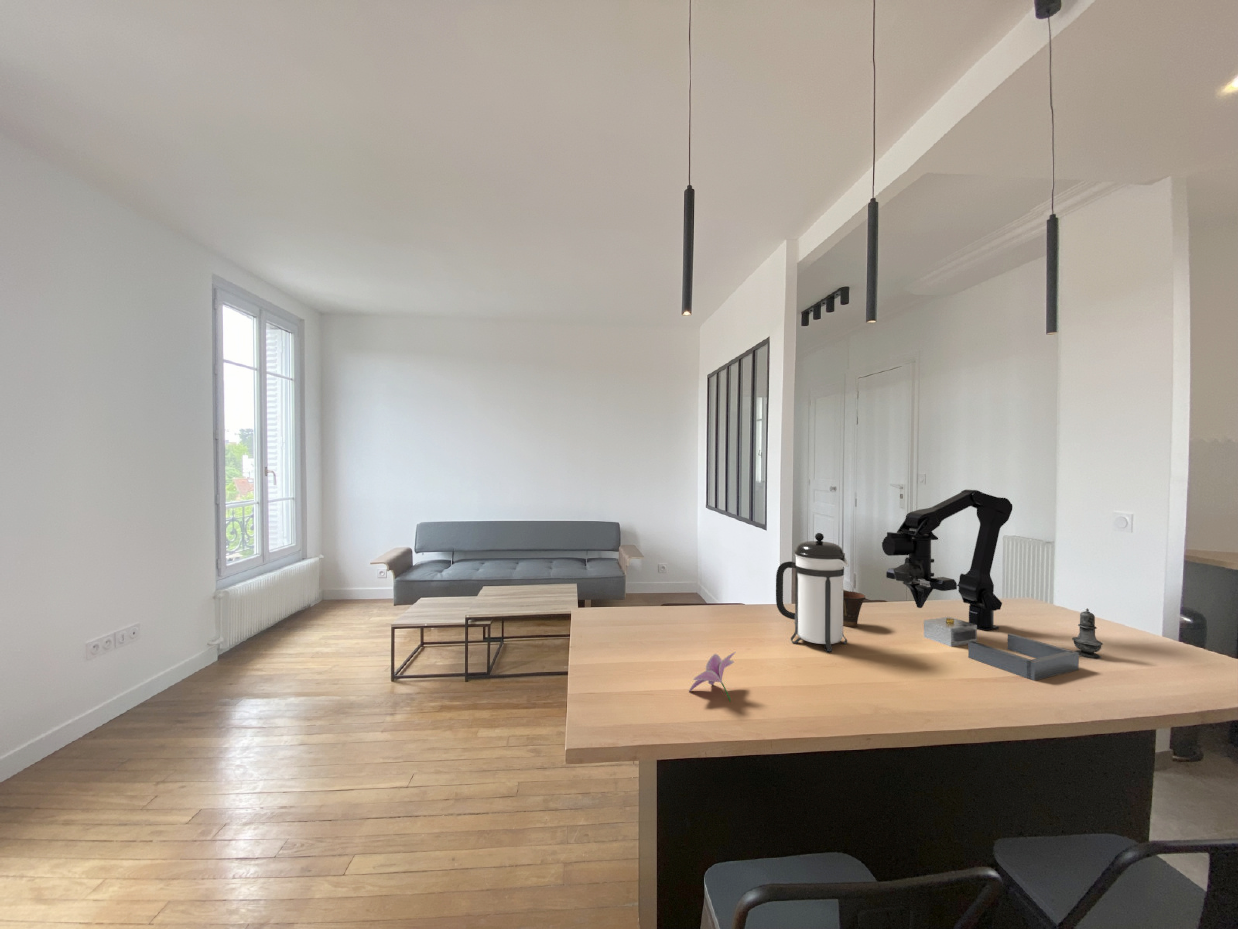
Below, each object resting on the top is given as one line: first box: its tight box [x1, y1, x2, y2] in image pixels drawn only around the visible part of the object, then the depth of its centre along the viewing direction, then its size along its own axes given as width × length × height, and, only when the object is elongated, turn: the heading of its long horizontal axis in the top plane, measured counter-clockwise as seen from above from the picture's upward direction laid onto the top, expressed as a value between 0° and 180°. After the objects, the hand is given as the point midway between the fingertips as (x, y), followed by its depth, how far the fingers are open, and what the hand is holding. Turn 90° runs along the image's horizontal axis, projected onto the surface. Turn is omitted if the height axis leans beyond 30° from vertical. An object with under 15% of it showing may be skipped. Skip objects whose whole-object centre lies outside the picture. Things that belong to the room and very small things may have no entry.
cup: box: [843, 590, 866, 628], centre depth 154 cm, size 9×9×10 cm
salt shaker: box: [1071, 608, 1104, 660], centre depth 131 cm, size 6×6×12 cm
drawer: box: [923, 616, 978, 648], centre depth 142 cm, size 10×9×6 cm
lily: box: [688, 651, 736, 702], centre depth 107 cm, size 12×12×10 cm
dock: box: [967, 633, 1080, 682], centre depth 125 cm, size 17×15×4 cm
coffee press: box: [775, 532, 850, 653], centre depth 139 cm, size 17×16×30 cm
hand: (919, 607), depth 150 cm, fingers closed
